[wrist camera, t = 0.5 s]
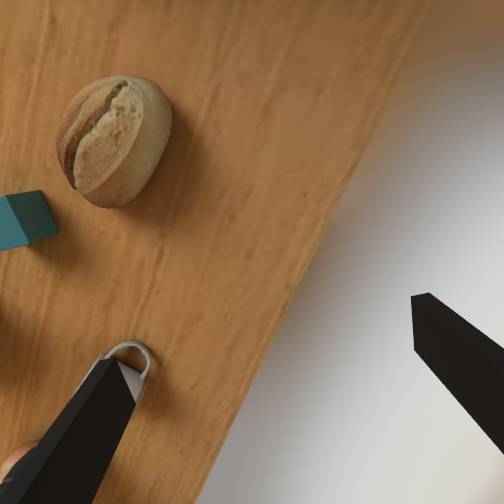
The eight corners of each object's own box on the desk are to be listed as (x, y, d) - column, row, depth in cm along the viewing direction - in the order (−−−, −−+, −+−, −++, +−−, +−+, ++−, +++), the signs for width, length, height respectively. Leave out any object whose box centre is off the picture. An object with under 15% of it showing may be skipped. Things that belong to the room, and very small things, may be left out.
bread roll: (66, 180, 36) (17, 186, 28) (114, 58, 32) (72, 27, 24) (139, 219, 37) (111, 235, 30) (193, 108, 33) (177, 93, 26)
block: (-1, 200, 36) (-43, 207, 31) (40, 189, 36) (5, 195, 31) (20, 242, 38) (-16, 255, 33) (60, 232, 38) (29, 244, 32)
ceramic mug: (134, 401, 46) (113, 447, 39) (85, 378, 44) (53, 421, 37) (167, 353, 44) (151, 391, 36) (116, 326, 42) (89, 361, 35)
